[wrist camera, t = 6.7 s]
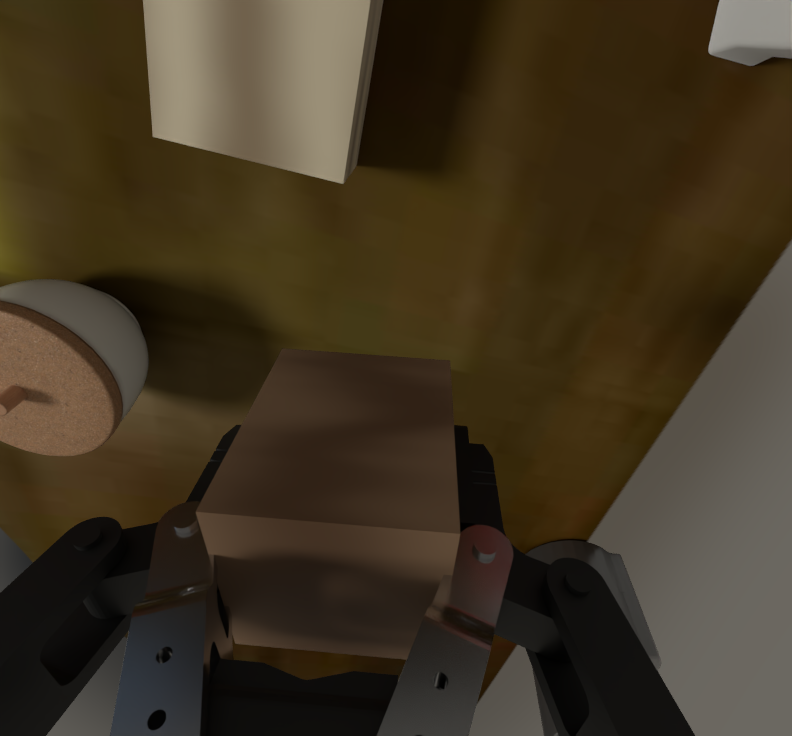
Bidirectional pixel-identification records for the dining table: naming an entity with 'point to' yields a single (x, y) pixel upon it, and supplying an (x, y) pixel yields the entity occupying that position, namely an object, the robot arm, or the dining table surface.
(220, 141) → the birch block
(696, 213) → the dining table surface
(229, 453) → the walnut block
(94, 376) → the lidded jar
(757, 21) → the perfume bottle
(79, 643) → the robot arm
